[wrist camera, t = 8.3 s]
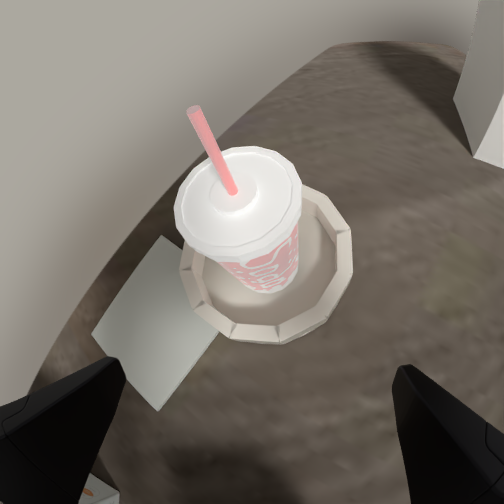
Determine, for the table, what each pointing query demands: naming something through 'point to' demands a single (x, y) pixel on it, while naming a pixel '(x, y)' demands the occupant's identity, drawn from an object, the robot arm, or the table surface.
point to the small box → (98, 492)
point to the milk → (484, 85)
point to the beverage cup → (242, 211)
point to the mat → (154, 326)
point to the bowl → (283, 301)
